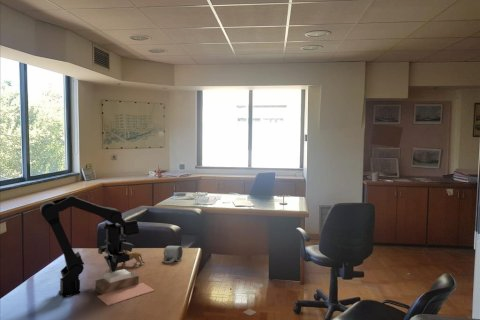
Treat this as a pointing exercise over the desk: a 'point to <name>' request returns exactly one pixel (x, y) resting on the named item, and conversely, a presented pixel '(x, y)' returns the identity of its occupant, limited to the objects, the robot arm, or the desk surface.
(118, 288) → the brown long block
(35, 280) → the desk surface
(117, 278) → the white flat block
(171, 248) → the ceramic mug
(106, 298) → the mat
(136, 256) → the lion figurine
